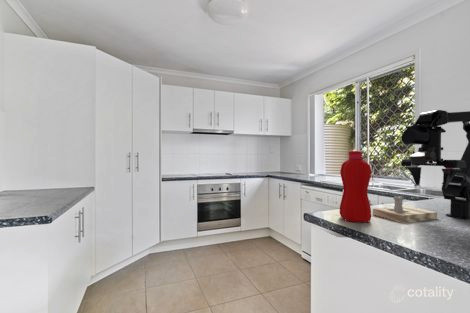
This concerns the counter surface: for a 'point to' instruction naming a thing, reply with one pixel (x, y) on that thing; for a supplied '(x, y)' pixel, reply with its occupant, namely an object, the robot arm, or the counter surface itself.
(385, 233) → the counter surface
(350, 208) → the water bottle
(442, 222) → the counter surface
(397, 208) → the rook chess piece
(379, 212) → the socket block
